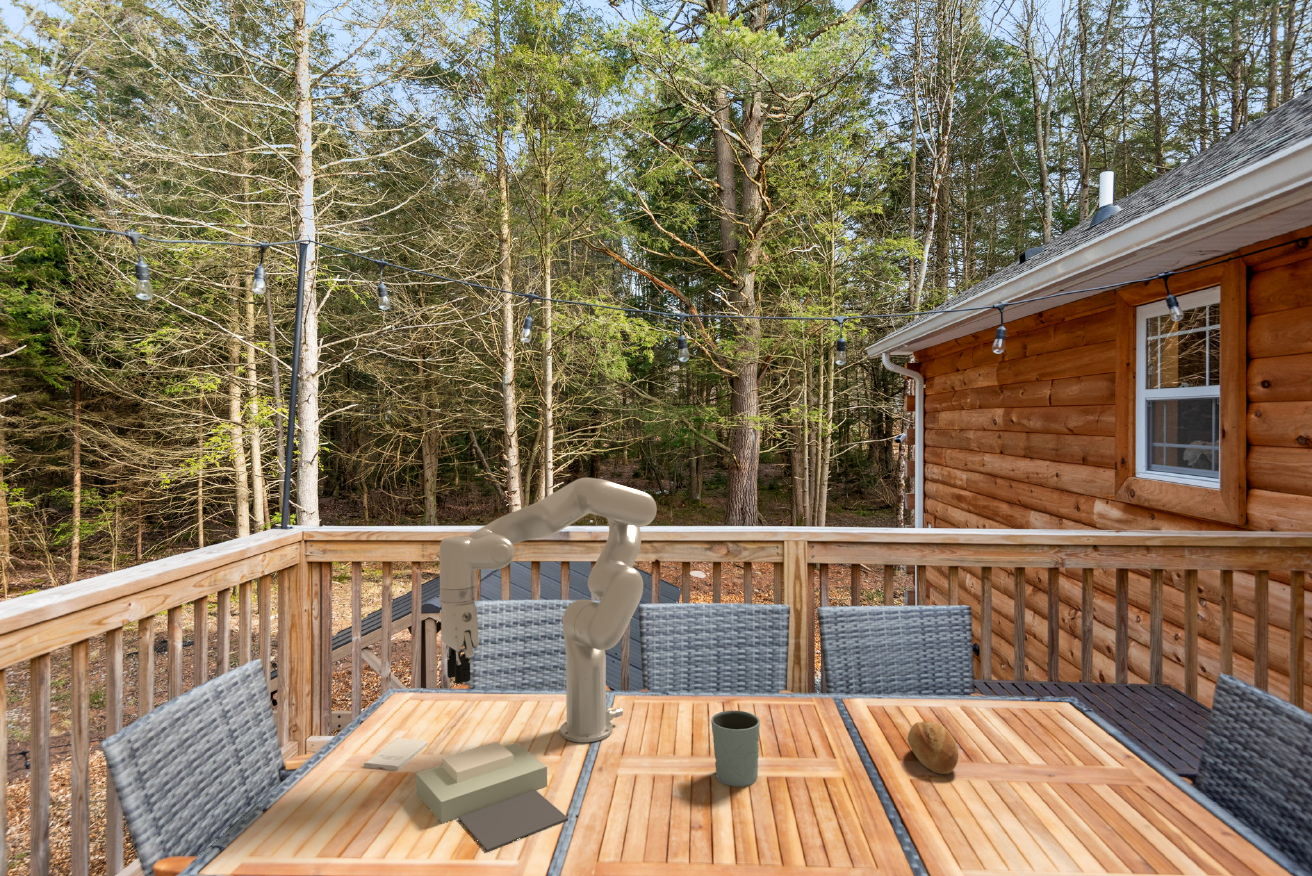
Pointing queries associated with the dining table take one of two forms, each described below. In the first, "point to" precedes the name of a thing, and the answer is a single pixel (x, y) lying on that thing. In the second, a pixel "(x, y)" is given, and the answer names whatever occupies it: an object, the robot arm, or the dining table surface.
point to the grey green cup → (736, 747)
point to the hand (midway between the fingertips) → (458, 678)
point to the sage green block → (480, 786)
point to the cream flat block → (477, 761)
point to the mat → (512, 820)
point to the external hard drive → (396, 754)
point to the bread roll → (933, 746)
